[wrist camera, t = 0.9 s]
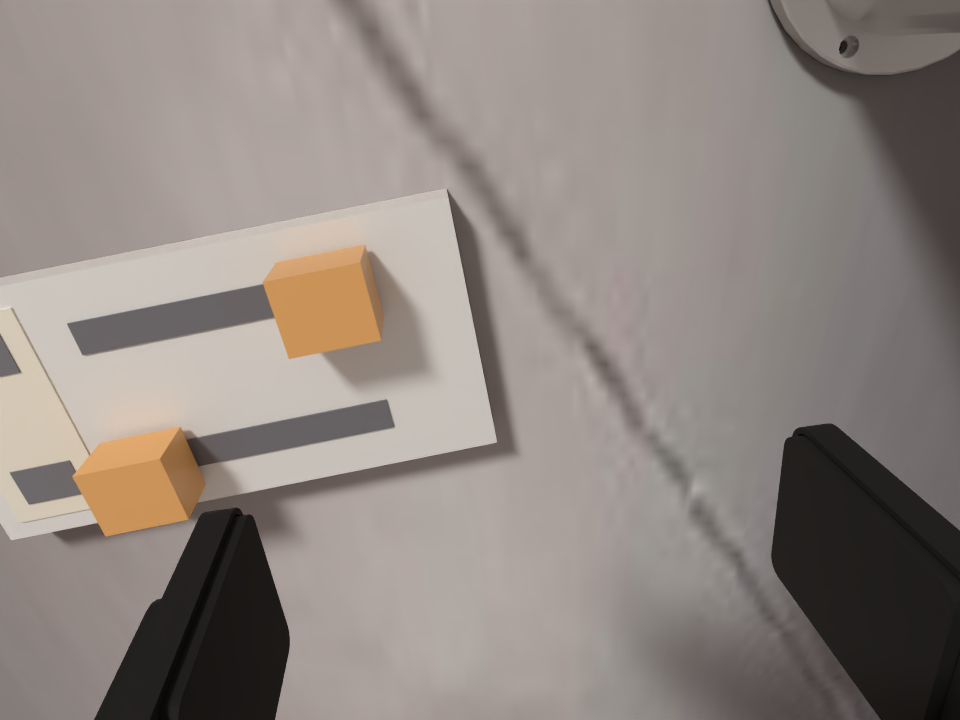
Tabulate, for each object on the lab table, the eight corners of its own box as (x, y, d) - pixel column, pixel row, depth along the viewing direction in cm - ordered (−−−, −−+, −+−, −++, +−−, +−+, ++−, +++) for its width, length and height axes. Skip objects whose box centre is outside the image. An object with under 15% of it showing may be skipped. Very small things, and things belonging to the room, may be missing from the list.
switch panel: (446, 188, 30) (448, 197, 28) (493, 423, 36) (497, 444, 34) (-101, 297, 30) (-138, 314, 28) (31, 516, 36) (9, 542, 34)
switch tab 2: (365, 244, 28) (360, 262, 26) (384, 316, 30) (381, 340, 27) (276, 262, 28) (262, 282, 26) (299, 333, 30) (289, 359, 27)
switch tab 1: (180, 426, 31) (159, 458, 29) (206, 484, 33) (188, 519, 30) (99, 442, 31) (72, 476, 29) (129, 499, 33) (105, 536, 30)
